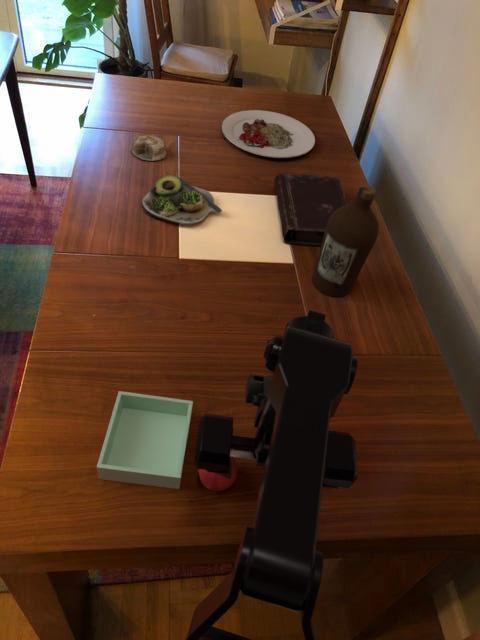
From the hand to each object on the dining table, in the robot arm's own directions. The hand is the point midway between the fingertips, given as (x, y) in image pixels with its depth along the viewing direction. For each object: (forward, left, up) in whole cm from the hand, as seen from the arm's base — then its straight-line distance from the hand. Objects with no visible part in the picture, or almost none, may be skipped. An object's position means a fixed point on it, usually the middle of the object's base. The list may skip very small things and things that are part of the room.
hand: (263, 479), depth 62 cm
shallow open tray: (+9, +17, -13) cm, 23 cm away
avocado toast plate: (+76, +23, -13) cm, 80 cm away
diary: (+80, -12, -13) cm, 82 cm away
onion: (+5, +6, -13) cm, 15 cm away
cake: (+99, +35, -13) cm, 106 cm away
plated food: (+120, +1, -13) cm, 121 cm away
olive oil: (+55, -16, -13) cm, 59 cm away
